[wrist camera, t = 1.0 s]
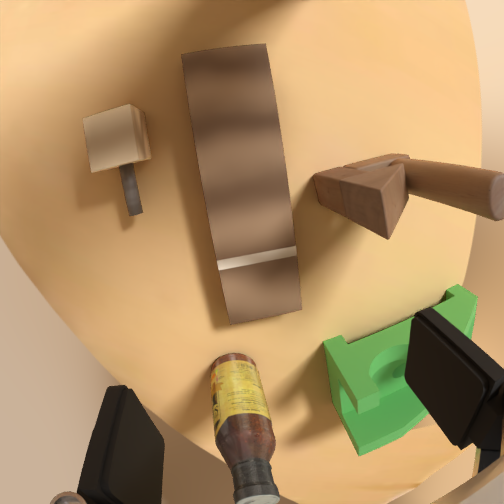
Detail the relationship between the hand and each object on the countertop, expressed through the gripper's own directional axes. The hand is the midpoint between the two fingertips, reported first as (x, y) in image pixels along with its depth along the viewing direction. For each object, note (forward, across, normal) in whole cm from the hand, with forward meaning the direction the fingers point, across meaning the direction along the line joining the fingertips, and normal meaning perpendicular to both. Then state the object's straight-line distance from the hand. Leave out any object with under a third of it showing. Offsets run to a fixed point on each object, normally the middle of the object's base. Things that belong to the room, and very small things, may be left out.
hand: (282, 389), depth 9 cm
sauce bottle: (+25, +4, +20) cm, 32 cm away
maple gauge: (+25, +9, -8) cm, 27 cm away
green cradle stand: (+25, -21, +24) cm, 41 cm away
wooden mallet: (+25, -15, -2) cm, 29 cm away
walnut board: (+25, -2, -3) cm, 25 cm away
